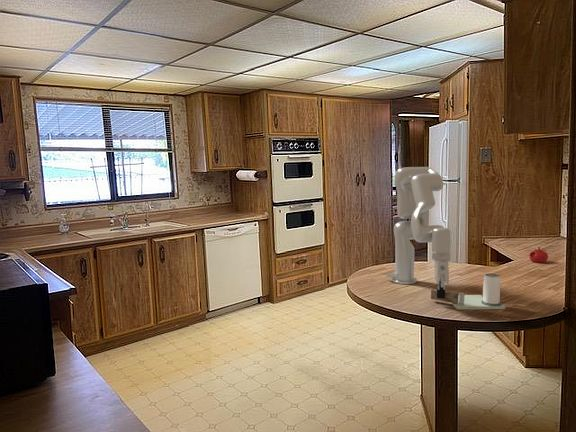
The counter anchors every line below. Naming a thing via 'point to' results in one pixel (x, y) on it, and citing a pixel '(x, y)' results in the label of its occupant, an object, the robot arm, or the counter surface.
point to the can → (491, 288)
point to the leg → (446, 296)
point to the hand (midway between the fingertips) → (440, 298)
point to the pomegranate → (538, 256)
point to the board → (475, 302)
